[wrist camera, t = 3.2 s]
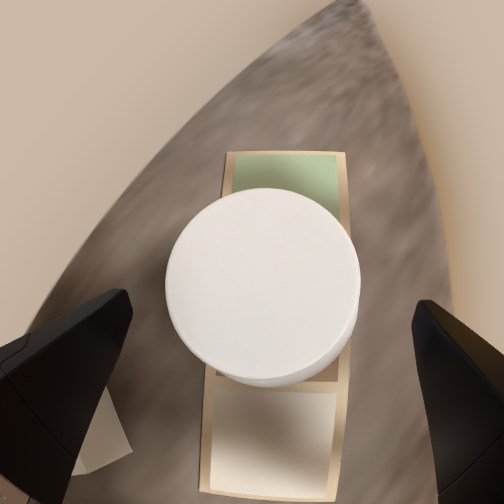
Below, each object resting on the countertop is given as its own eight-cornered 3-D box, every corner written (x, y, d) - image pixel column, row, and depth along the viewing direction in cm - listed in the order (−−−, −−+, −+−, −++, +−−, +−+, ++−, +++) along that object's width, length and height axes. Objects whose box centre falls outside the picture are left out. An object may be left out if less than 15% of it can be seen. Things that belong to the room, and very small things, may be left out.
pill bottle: (340, 275, 17) (388, 182, 8) (325, 381, 15) (367, 420, 6) (236, 261, 18) (174, 162, 8) (217, 363, 16) (122, 372, 7)
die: (133, 451, 16) (86, 474, 11) (77, 461, 15) (29, 478, 11) (104, 376, 17) (51, 379, 12) (52, 394, 17) (0, 396, 12)
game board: (334, 500, 13) (334, 501, 13) (200, 489, 14) (199, 491, 14) (344, 154, 19) (344, 151, 19) (227, 153, 20) (226, 151, 20)
